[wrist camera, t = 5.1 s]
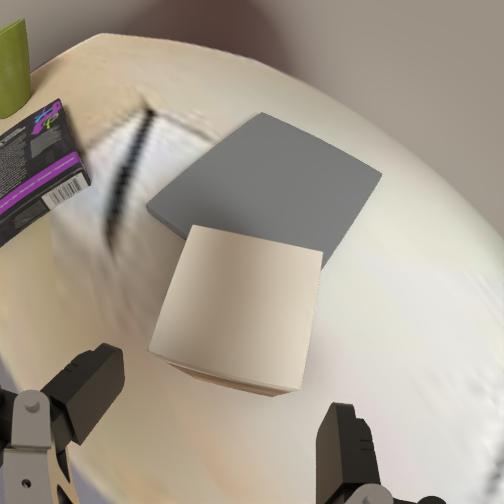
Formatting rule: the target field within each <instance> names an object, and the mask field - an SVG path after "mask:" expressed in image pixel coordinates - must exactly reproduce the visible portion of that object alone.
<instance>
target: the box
mask: <svg viewBox="0 0 504 504" xmlns="http://www.w3.org/2000/svg"><path fill="white" fill-rule="evenodd" d="M90 185H91V182H90V180H89V177H88V175H87V172H86V170H85V167H84V165H83V162H82V160H81V157H80V154H79V152H78V149H77V147H76V144H75V141H74V138H73V136H72V133H71V130H70V127H69V124H68V121H67V118H66V115H65V112H64V109H63V107H62V104H61V101H60V99H59V98H58V99H56V100H55V101H53V102H52V103H50V104H48V105H47V106H45V107H43V108H41V109H40V110H38V111H37V112H35V113H33V114H31V115H30V116H28V117H27V118H25V119H24V120H22V121H21V122H19V123H18V124H16V125H15V126H13V127H12V128H11V129H9V130H8V131H6V132H5V133H4V134H2V135H1V136H0V247H2V246H3V245H4V244H5V243H7V242H8V241H9V240H10V239H12V238H13V237H14V236H16V235H17V234H18V233H20V232H21V231H22V230H24V229H25V228H26V227H28V226H29V225H30V224H32V223H33V222H35V221H36V220H37V219H39V218H40V217H42V216H43V215H45V214H46V213H47V212H49V211H50V210H52V209H53V208H55V207H56V206H58V205H59V204H61V203H62V202H64V201H65V200H67V199H69V198H70V197H72V196H73V195H75V194H77V193H78V192H80V191H81V190H83V189H85V188H86V187H88V186H90Z"/></svg>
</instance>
